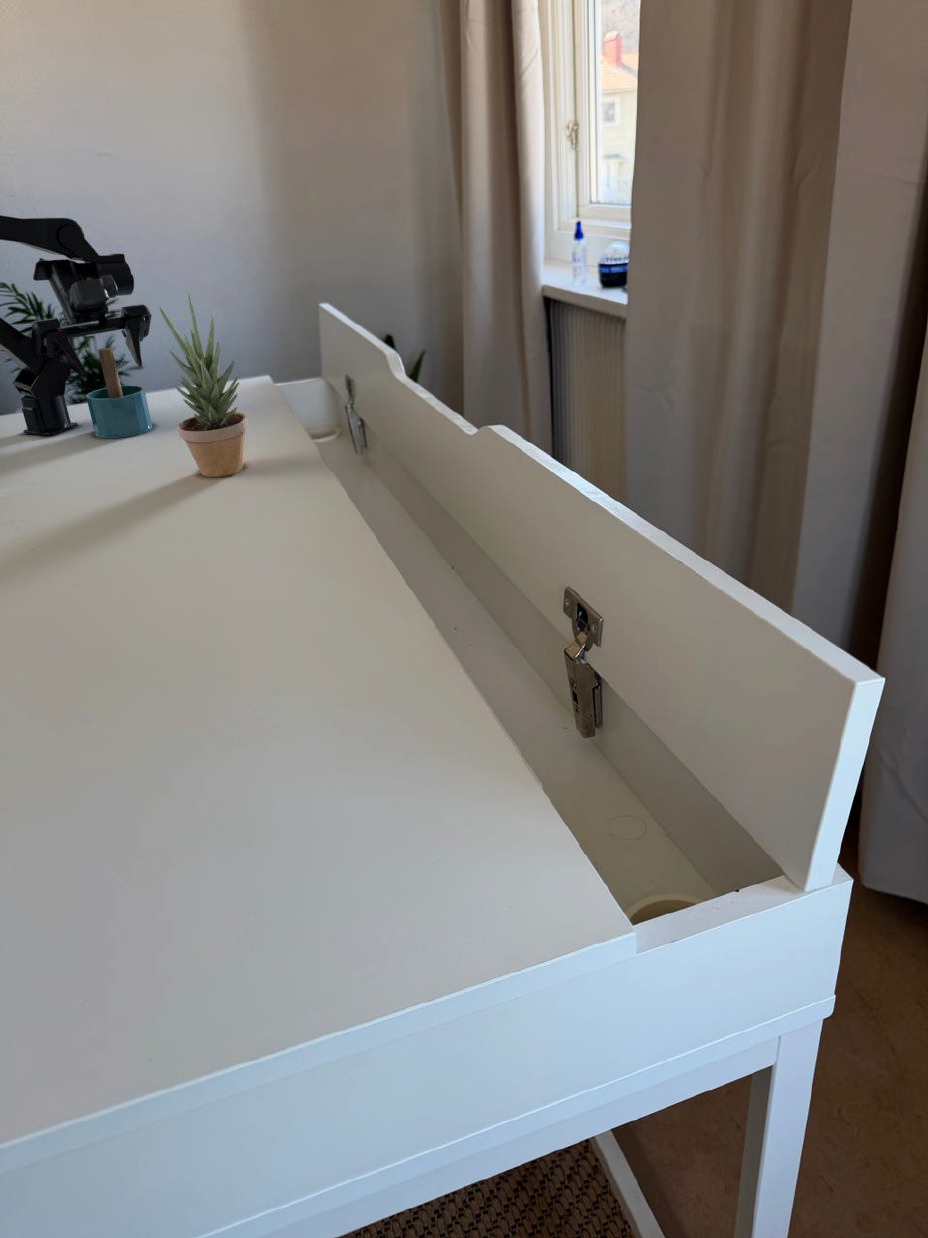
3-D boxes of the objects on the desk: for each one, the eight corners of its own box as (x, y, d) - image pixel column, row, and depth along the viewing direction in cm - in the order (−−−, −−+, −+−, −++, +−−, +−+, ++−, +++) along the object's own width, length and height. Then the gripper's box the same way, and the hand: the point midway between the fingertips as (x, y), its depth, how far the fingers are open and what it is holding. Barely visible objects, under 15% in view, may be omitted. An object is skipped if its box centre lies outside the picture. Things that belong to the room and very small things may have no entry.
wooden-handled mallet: (107, 427, 159) (88, 349, 153) (130, 422, 161) (112, 345, 155) (115, 432, 156) (96, 352, 150) (139, 427, 158) (121, 348, 152)
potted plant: (173, 478, 134) (135, 297, 122) (213, 458, 141) (180, 285, 130) (232, 483, 130) (198, 297, 119) (269, 462, 138) (241, 285, 127)
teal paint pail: (123, 421, 164) (114, 383, 161) (163, 424, 161) (155, 386, 158) (83, 436, 157) (74, 397, 154) (125, 440, 153) (116, 400, 150)
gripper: (16, 267, 145) (56, 349, 142) (134, 252, 154) (174, 328, 151) (16, 315, 154) (54, 393, 151) (128, 298, 164) (165, 371, 161)
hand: (113, 370), depth 153 cm, fingers open, 9 cm apart
